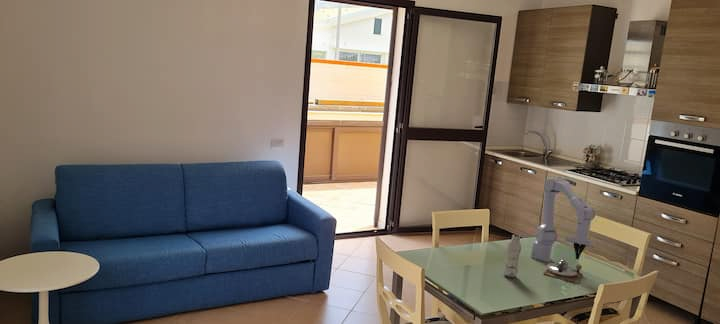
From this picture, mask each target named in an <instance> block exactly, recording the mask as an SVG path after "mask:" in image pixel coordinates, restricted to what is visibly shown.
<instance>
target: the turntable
mask: <svg viewBox="0 0 720 324" xmlns="http://www.w3.org/2000/svg"><path fill="white" fill-rule="evenodd" d="M563 266H564V264H563V263H559V269H558V268H557V262H548V264H547V265H546V269H547V270H548V271H549V272H551V273H553V274H555V275H558V276H563V277H575V276H576V275H577V269H576V268H575V267H573V266H570V265H568V267H567V270H563Z"/></svg>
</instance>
